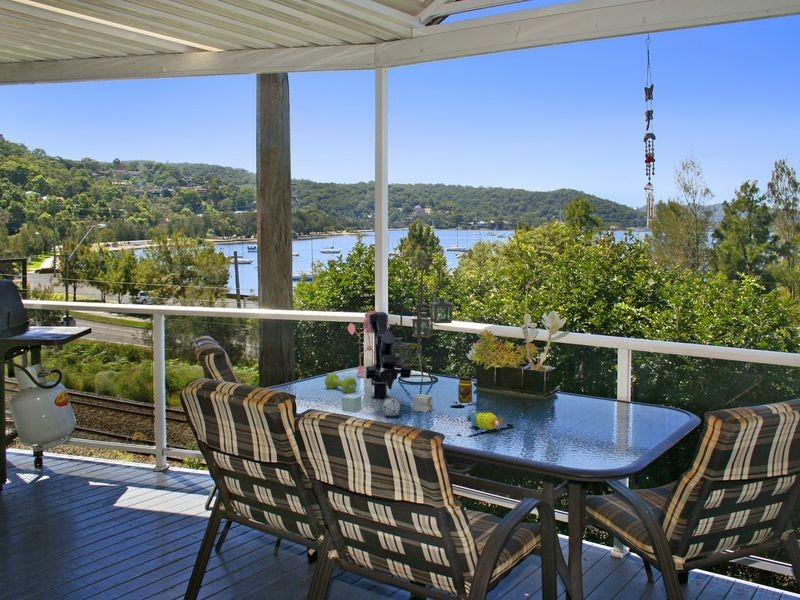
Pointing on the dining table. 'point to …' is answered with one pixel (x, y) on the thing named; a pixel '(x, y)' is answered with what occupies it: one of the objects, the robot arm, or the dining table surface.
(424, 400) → the birch block
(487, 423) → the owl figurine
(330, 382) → the dumbbell
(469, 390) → the condiment
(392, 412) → the game die
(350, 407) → the sage block
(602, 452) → the dining table surface
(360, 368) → the pink tall part
